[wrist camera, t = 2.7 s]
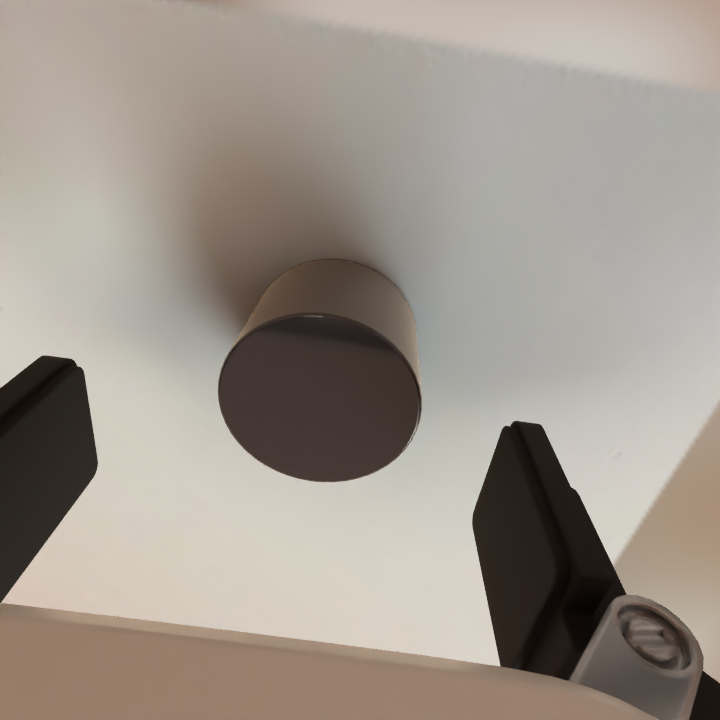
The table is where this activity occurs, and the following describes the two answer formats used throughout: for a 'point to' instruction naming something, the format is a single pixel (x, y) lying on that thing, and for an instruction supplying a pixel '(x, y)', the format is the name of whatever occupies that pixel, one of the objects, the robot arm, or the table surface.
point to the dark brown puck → (325, 374)
